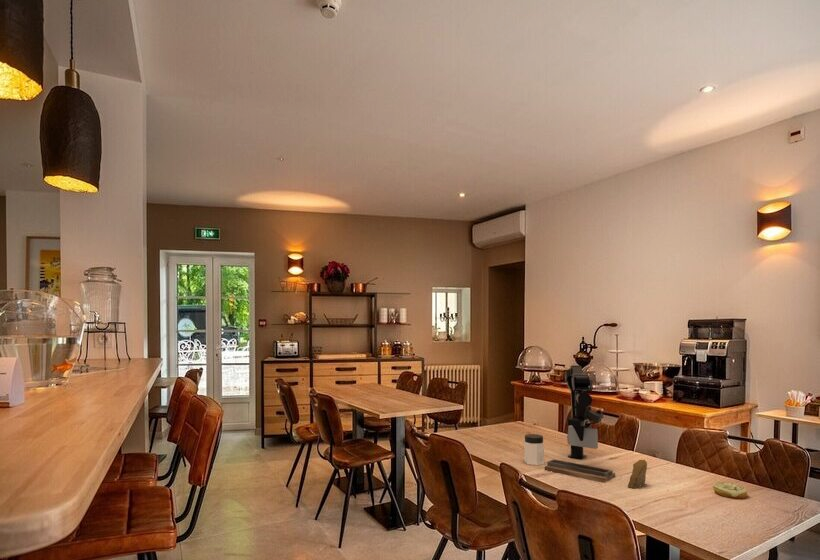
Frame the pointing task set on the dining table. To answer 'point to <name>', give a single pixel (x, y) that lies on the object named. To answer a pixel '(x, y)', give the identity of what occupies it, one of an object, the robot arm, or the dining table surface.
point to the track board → (579, 470)
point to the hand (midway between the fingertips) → (582, 440)
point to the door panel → (588, 439)
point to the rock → (638, 474)
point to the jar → (534, 449)
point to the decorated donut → (730, 490)
